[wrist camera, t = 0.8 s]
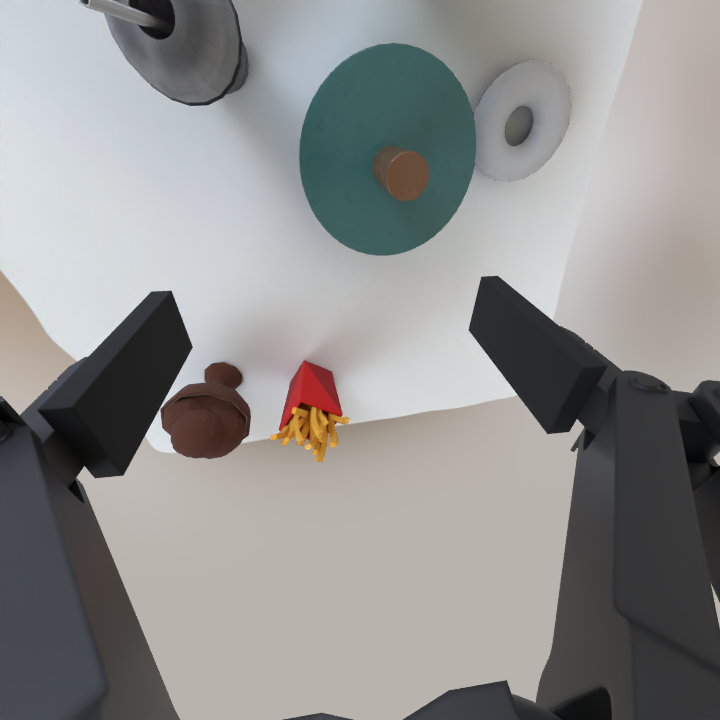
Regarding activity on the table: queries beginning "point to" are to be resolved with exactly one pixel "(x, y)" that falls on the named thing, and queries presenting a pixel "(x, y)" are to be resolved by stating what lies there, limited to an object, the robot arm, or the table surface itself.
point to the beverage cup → (180, 45)
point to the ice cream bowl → (208, 415)
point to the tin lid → (387, 149)
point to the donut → (550, 120)
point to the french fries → (311, 410)
